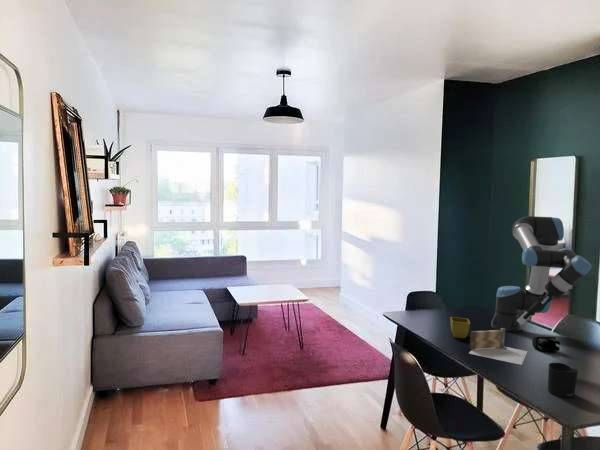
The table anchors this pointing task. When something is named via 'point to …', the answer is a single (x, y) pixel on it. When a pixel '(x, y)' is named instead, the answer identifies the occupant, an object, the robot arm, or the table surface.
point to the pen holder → (562, 380)
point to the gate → (487, 339)
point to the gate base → (502, 354)
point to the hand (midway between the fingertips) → (519, 322)
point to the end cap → (546, 344)
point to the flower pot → (459, 327)
